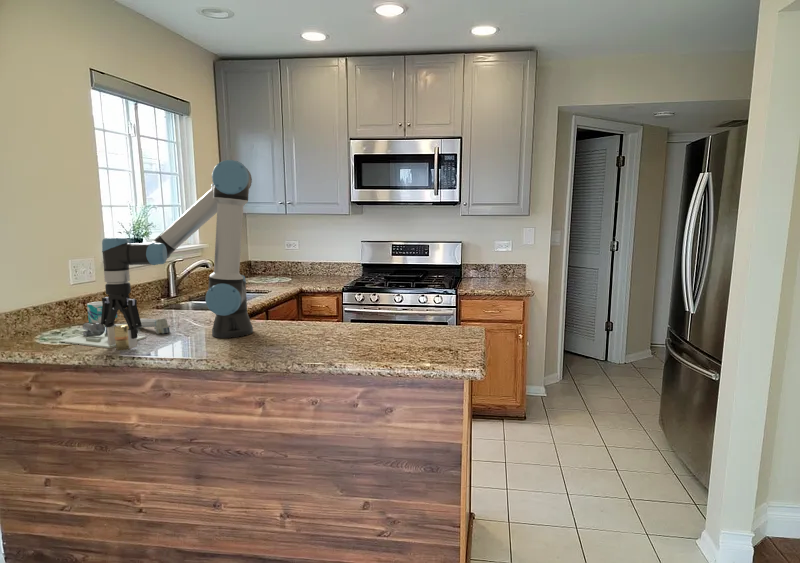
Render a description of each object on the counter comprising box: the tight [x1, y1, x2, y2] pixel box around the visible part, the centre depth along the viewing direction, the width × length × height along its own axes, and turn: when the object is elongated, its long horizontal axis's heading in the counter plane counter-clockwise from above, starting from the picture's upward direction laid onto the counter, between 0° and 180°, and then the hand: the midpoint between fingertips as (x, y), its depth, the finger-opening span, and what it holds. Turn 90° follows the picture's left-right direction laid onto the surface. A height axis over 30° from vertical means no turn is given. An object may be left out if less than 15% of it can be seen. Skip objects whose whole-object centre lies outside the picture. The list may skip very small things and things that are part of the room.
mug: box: [86, 300, 118, 324], centre depth 217 cm, size 8×12×8 cm
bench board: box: [58, 331, 147, 349], centre depth 183 cm, size 26×15×2 cm, turn 69°
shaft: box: [82, 322, 106, 337], centre depth 188 cm, size 10×5×5 cm, turn 54°
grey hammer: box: [126, 317, 171, 335], centre depth 198 cm, size 5×7×25 cm
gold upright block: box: [114, 324, 130, 351], centre depth 171 cm, size 5×5×8 cm
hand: (122, 346), depth 171 cm, fingers open, 9 cm apart
